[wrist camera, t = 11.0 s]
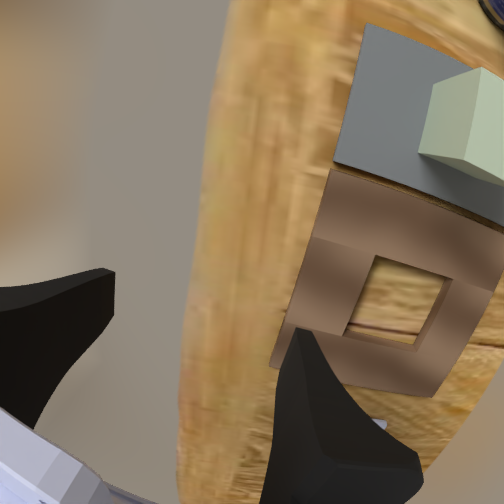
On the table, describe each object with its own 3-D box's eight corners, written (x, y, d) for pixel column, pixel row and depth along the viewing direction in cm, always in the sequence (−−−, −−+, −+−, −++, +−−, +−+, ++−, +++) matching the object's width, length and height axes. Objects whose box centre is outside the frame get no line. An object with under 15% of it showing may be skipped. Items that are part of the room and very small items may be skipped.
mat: (510, 229, 17) (513, 231, 17) (332, 160, 18) (333, 160, 18) (538, 113, 14) (542, 114, 14) (365, 25, 15) (366, 22, 14)
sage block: (476, 178, 16) (530, 196, 11) (417, 152, 16) (463, 159, 11) (490, 113, 15) (547, 111, 9) (433, 84, 15) (481, 66, 9)
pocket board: (428, 389, 22) (431, 397, 21) (270, 358, 23) (268, 366, 22) (508, 235, 17) (515, 240, 16) (330, 168, 18) (331, 169, 17)
